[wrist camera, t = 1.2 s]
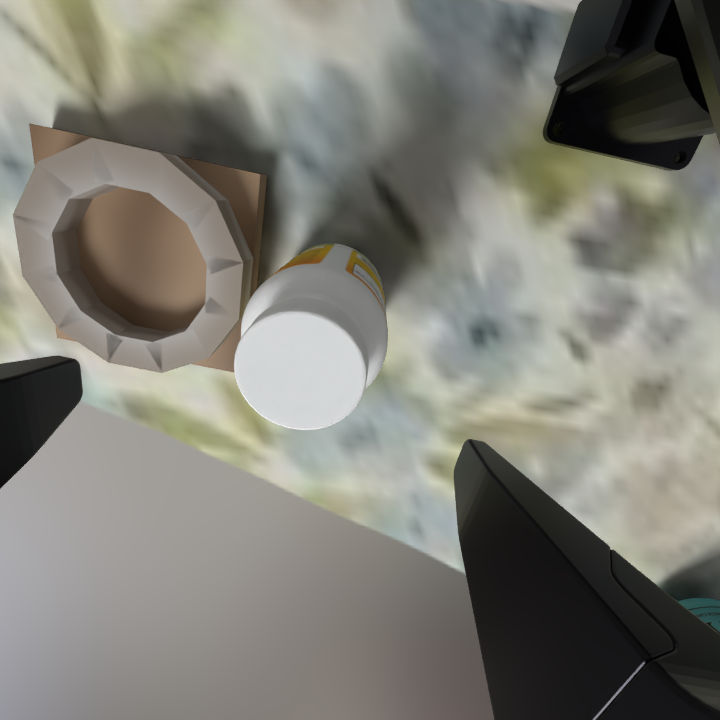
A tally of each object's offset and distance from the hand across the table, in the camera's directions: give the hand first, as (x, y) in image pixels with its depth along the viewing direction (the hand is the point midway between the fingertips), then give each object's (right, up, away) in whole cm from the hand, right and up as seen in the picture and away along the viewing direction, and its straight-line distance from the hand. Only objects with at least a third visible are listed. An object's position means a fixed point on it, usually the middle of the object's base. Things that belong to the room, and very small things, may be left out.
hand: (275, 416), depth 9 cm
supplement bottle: (+1, +5, +11) cm, 12 cm away
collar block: (-8, +6, +11) cm, 15 cm away
